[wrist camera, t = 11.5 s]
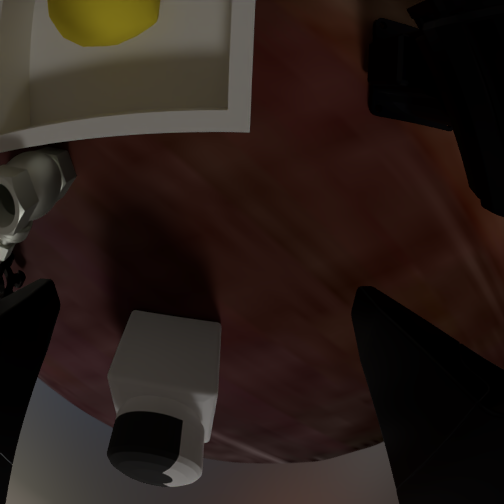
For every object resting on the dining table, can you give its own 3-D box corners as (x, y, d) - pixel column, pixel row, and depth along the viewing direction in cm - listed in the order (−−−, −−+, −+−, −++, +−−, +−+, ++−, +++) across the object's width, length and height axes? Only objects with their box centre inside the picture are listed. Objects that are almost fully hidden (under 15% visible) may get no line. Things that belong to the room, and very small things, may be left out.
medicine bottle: (136, 366, 27) (107, 482, 16) (132, 307, 24) (83, 439, 13) (213, 378, 28) (207, 499, 17) (222, 320, 24) (215, 464, 14)
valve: (40, 119, 16) (-15, 235, 20) (-24, 137, 11) (-61, 274, 14) (103, 179, 19) (35, 283, 22) (54, 217, 13) (-3, 333, 17)
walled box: (257, -86, 11) (261, -121, 7) (247, 123, 18) (249, 132, 14) (42, -48, 10) (8, -64, 6) (29, 139, 17) (-11, 154, 13)
